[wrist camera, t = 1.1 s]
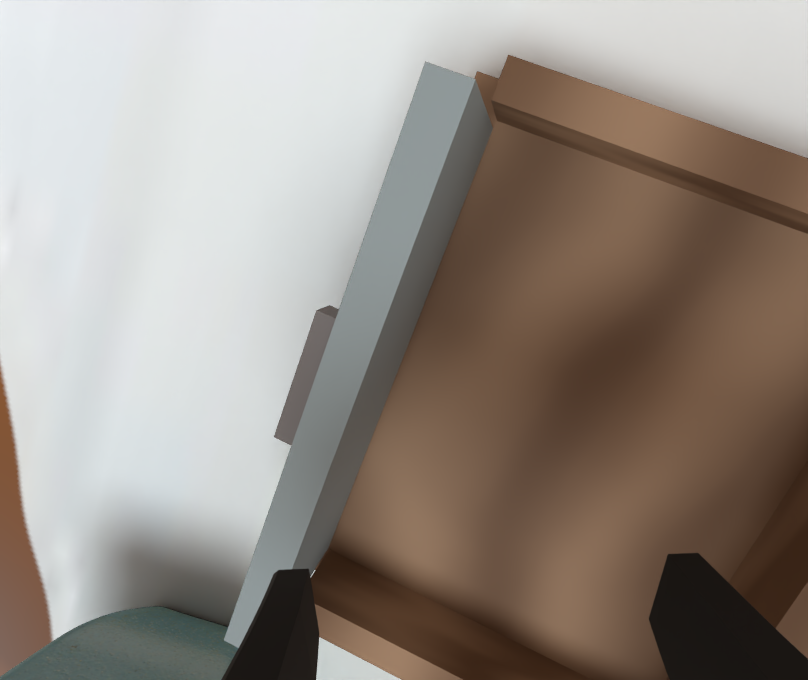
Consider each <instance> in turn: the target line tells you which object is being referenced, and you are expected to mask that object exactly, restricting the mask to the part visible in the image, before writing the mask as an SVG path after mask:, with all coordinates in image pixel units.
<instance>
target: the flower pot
mask: <svg viewBox="0 0 808 680" xmlns="http://www.w3.org/2000/svg"><path fill="white" fill-rule="evenodd" d="M227 629H228V627H226V626H223V625H219V624H216V623H213V622H209V621H206V620H203V619H199V618H196V617H193V616H189V615H186V614H183V613H180V612H177V611H174V610H171V609H168V608H164V607H160V606H153V607H143V608H136V609H129V610H124V611H119V612H115V613H111V614H108V615H105V616H102V617H99V618H96V619H94V620H91V621H89V622H86V623H84V624H82V625H80V626H78V627H76V628H74V629H72V630H70V631H68V632H67V633H65V634H63V635H62V636H60V637H59V638H57V639H56V640H54V641H52V642H51V643H49V644H48V645H46V646H45V647H43V648H42V649H40V650H39V651H37V652H36V653H34V654H33V655H31V656H30V657H29V658H27V659H26V660H24V661H23V662H21V663H20V664H19V665H17V666H15V667H14V668H12V669H11V670H9V671H8V672H7V673H5V674H4V675H2V676H1V677H0V680H221V679H222V677H223V676H224V674H225V672H226V670H227V668H228V666H229V665H230V663H231V661H232V659H233V657H234V655H235V654H236V652H237V650H238V648H237V647H236V646H234V645H232V644H230V643H228V642H226V641H224V638H225V635H226V632H227Z"/></svg>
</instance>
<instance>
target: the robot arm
mask: <svg viewBox="0 0 808 680" xmlns="http://www.w3.org/2000/svg"><path fill="white" fill-rule="evenodd" d="M649 622H650V625H651V628H652V631H653V634H654V637H655V640H656V643H657V646H658V649H659V652H660V655H661V658H662V661H663V664H664V666H665V669H666V672H667V675H668V677H669V679H670V680H808V659H807V658H806V657H805V656H804V655H803V654H802V653H801V652H800V651H799V650H798V649H797V648H796V647H795V646H794V645H792V644H791V643H790V642H789V641H788V640H787V639H786V638H785V637H784V636H783V635H782V634H781V633H780V632H779V631H778V630H777V629H776V628H774V627H773V626H772V625H771V624H770V623H769V622H768V621H767V620H766V619H765V618H764V617H763V616H762V615H761V614H760V613H759V612H758V611H757V610H756V609H755V608H754V607H753V606H752V605H751V604H750V603H749V602H748V601H747V600H746V599H745V598H744V597H743V596H742V595H741V594H740V593H739V592H738V591H737V590H736V589H735V588H734V587H733V586H732V585H730V584H729V583H728V582H727V581H726V580H725V579H724V578H723V577H722V576H721V575H720V574H719V573H718V572H717V571H716V570H715V569H714V568H713V567H712V566H711V565H710V564H709V563H708V562H707V561H706V560H705V559H704V558H703V557H702V556H701V555H700V554H699V553H679V554H668V555H667V559H666V562H665V565H664V569H663V572H662V575H661V579H660V582H659V585H658V589H657V592H656V595H655V599H654V602H653V606H652V609H651V612H650V616H649ZM318 645H319V627H318V621H317V615H316V609H315V603H314V597H313V590H312V584H311V578H310V572H309V569H285V570H278V571H276V572H275V573H274V574H273V577H272V579H271V581H270V584H269V586H268V589H267V591H266V593H265V595H264V597H263V600H262V602H261V604H260V606H259V608H258V610H257V613H256V615H255V617H254V619H253V621H252V623H251V625H250V627H249V629H248V631H247V633H246V635H245V637H244V639H243V641H242V643H241V644H240V646H239V648H238V650H237V652H236V654H235V655H234V657H233V659H232V661H231V663H230V665H229V666H228V668H227V670H226V672H225V674H224V676H223V677H222V679H221V680H316V673H317V660H318Z"/></svg>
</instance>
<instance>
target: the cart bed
mask: <svg viewBox="0 0 808 680" xmlns="http://www.w3.org/2000/svg"><path fill="white" fill-rule="evenodd" d="M475 79H476V82H477V85H478V88H479V91H480V93H481V96H482V99H483V102H484V105H485V107H486V110H487V113H488V116H489V119H490V121H491V124H492V127H493V130H492V132H491V135H490V137H489V140H488V142H487V145H486V148H485V150H484V153H483V155H482V158H481V160H480V163H479V165H478V168H477V170H476V173H475V176H474V178H473V181H472V183H471V186H470V188H469V191H468V193H467V196H466V199H465V201H464V204H463V206H462V209H461V211H460V214H459V216H458V219H457V221H456V224H455V227H454V229H453V232H452V234H451V237H450V239H449V242H448V244H447V247H446V249H445V252H444V255H443V257H442V260H441V262H440V265H439V267H438V270H437V272H436V275H435V278H434V280H433V283H432V285H431V288H430V290H429V293H428V295H427V298H426V300H425V303H424V306H423V308H422V311H421V313H420V316H419V318H418V321H417V323H416V326H415V329H414V331H413V334H412V336H411V339H410V341H409V344H408V346H407V349H406V351H405V354H404V357H403V359H402V362H401V364H400V367H399V369H398V372H397V374H396V377H395V380H394V382H393V385H392V387H391V390H390V392H389V395H388V397H387V400H386V402H385V405H384V408H383V410H382V413H381V415H380V418H379V420H378V423H377V425H376V428H375V431H374V433H373V436H372V438H371V441H370V443H369V446H368V448H367V451H366V453H365V456H364V459H363V461H362V464H361V466H360V469H359V471H358V474H357V476H356V479H355V482H354V484H353V487H352V489H351V492H350V494H349V497H348V499H347V502H346V504H345V507H344V510H343V512H342V515H341V517H340V520H339V522H338V525H337V527H336V530H335V533H334V535H333V538H332V540H331V543H330V545H329V548H328V549H327V551H326V552H325V554H324V556H323V557H322V559H321V560H320V562H319V563H318V565H317V567H316V568H315V570H316V571H315V572H314V574H313V575H312V577H311V584H312V590H313V597H314V603H315V609H316V615H317V621H318V627H319V637H321V638H323V639H325V640H327V641H328V642H330V643H332V644H334V645H336V646H338V647H340V648H342V649H344V650H346V651H348V652H350V653H352V654H353V655H355V656H357V657H359V658H361V659H363V660H365V661H367V662H369V663H371V664H373V665H375V666H377V667H378V668H380V669H382V670H384V671H386V672H388V673H390V674H392V675H394V676H396V677H398V678H400V679H402V680H670V679H669V677H668V675H667V672H666V669H665V666H664V664H663V661H662V658H661V655H660V652H659V649H658V646H657V643H656V640H655V637H654V634H653V631H652V628H651V625H650V622H649V616H650V612H651V609H652V606H653V602H654V599H655V595H656V592H657V589H658V585H659V582H660V579H661V575H662V572H663V569H664V565H665V562H666V559H667V555H668V554H679V553H699V554H700V555H701V556H702V557H703V558H704V559H705V560H706V561H707V562H708V563H709V564H710V565H711V566H712V567H713V568H714V569H715V570H716V571H717V572H718V573H719V574H720V575H721V576H722V577H723V578H724V579H725V580H726V581H727V582H728V583H729V584H730V585H732V586H733V587H734V588H735V589H736V590H737V591H738V592H739V593H740V594H741V595H742V596H743V597H744V598H745V599H746V600H747V601H748V602H749V603H750V604H751V605H752V606H753V607H754V608H755V609H756V610H757V611H758V612H759V613H760V614H761V615H762V616H763V617H764V618H765V619H766V620H767V621H768V622H769V623H770V624H771V625H772V626H773V627H774V628H776V629H777V630H778V631H779V632H780V633H781V634H782V635H783V636H784V637H785V638H786V639H787V640H788V641H789V642H790V643H791V644H792V645H794V646H795V647H796V648H797V649H798V650H799V651H800V652H801V653H802V654H803V655H804V656H805V657H806V658H807V659H808V158H805V157H802V156H799V155H796V154H793V153H791V152H788V151H785V150H782V149H779V148H776V147H773V146H770V145H767V144H765V143H762V142H759V141H756V140H753V139H750V138H747V137H744V136H741V135H739V134H736V133H733V132H730V131H727V130H724V129H721V128H718V127H715V126H713V125H710V124H707V123H704V122H701V121H698V120H695V119H692V118H689V117H687V116H684V115H681V114H678V113H675V112H672V111H669V110H666V109H663V108H661V107H658V106H655V105H652V104H649V103H646V102H643V101H640V100H637V99H635V98H632V97H629V96H626V95H623V94H620V93H617V92H614V91H611V90H609V89H606V88H603V87H600V86H597V85H594V84H591V83H588V82H585V81H583V80H580V79H577V78H574V77H571V76H568V75H565V74H562V73H559V72H557V71H554V70H551V69H548V68H545V67H542V66H539V65H536V64H533V63H531V62H528V61H525V60H522V59H519V58H516V57H513V56H510V55H508V57H507V60H506V62H505V65H504V68H503V70H502V73H501V75H500V78H499V79H498V78H495V77H492V76H489V75H486V74H483V73H481V72H478V71H477V73H476V76H475Z"/></svg>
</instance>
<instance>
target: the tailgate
mask: <svg viewBox="0 0 808 680" xmlns="http://www.w3.org/2000/svg"><path fill="white" fill-rule="evenodd" d="M492 130H493V127H492V124H491V121H490V119H489V116H488V113H487V110H486V107H485V105H484V102H483V99H482V96H481V93H480V91H479V88H478V85H477V82H476V79H473V78H470V77H467V76H465V75H462V74H459V73H456V72H453V71H451V70H448V69H445V68H442V67H439V66H436V65H434V64H431V63H428V62H425V64H424V67H423V70H422V73H421V76H420V78H419V81H418V84H417V87H416V90H415V93H414V96H413V99H412V101H411V104H410V107H409V110H408V113H407V116H406V119H405V121H404V124H403V127H402V130H401V133H400V136H399V139H398V142H397V144H396V147H395V150H394V153H393V156H392V159H391V162H390V164H389V167H388V170H387V173H386V176H385V179H384V182H383V185H382V187H381V190H380V193H379V196H378V199H377V202H376V205H375V208H374V210H373V213H372V216H371V219H370V222H369V225H368V228H367V230H366V233H365V236H364V239H363V242H362V245H361V248H360V251H359V253H358V256H357V259H356V262H355V265H354V268H353V271H352V274H351V276H350V279H349V282H348V285H347V288H346V291H345V294H344V296H343V299H342V302H341V305H340V308H339V309H337V308H334V307H332V306H330V305H329V306H327V307H324V308H321V309H319V310H317V311H316V314H315V316H314V319H313V322H312V325H311V328H310V331H309V334H308V337H307V340H306V343H305V346H304V349H303V352H302V355H301V358H300V361H299V364H298V367H297V370H296V373H295V376H294V379H293V382H292V385H291V388H290V391H289V394H288V397H287V400H286V403H285V406H284V409H283V411H282V414H281V417H280V420H279V423H278V426H277V429H276V432H275V435H274V437H275V438H277V439H279V440H281V441H283V442H285V443H287V444H290V445H292V446H291V449H290V451H289V454H288V457H287V460H286V463H285V466H284V469H283V472H282V474H281V477H280V480H279V483H278V486H277V489H276V492H275V494H274V497H273V500H272V503H271V506H270V509H269V512H268V515H267V517H266V520H265V523H264V526H263V529H262V532H261V535H260V538H259V540H258V543H257V546H256V549H255V552H254V555H253V558H252V560H251V563H250V566H249V569H248V572H247V575H246V578H245V581H244V583H243V586H242V589H241V592H240V595H239V598H238V601H237V603H236V606H235V609H234V612H233V615H232V618H231V621H230V624H229V626H228V629H227V632H226V635H225V638H224V641H226V642H228V643H230V644H232V645H234V646H236V647H237V648H239V646H240V644H241V643H242V641H243V639H244V637H245V635H246V633H247V631H248V629H249V627H250V625H251V623H252V621H253V619H254V617H255V615H256V613H257V610H258V608H259V606H260V604H261V602H262V600H263V597H264V595H265V593H266V591H267V589H268V586H269V584H270V581H271V579H272V577H273V574H274V573H275V572H276V571H278V570H285V569H309V572H310V576H311V575H312V573H313V571H314V570H315V568H316V567H317V565H318V563H319V562H320V560H321V559H322V557H323V556H324V554H325V552H326V551H327V549H328V548H329V545H330V543H331V540H332V538H333V535H334V533H335V530H336V527H337V525H338V522H339V520H340V517H341V515H342V512H343V510H344V507H345V504H346V502H347V499H348V497H349V494H350V492H351V489H352V487H353V484H354V482H355V479H356V476H357V474H358V471H359V469H360V466H361V464H362V461H363V459H364V456H365V453H366V451H367V448H368V446H369V443H370V441H371V438H372V436H373V433H374V431H375V428H376V425H377V423H378V420H379V418H380V415H381V413H382V410H383V408H384V405H385V402H386V400H387V397H388V395H389V392H390V390H391V387H392V385H393V382H394V380H395V377H396V374H397V372H398V369H399V367H400V364H401V362H402V359H403V357H404V354H405V351H406V349H407V346H408V344H409V341H410V339H411V336H412V334H413V331H414V329H415V326H416V323H417V321H418V318H419V316H420V313H421V311H422V308H423V306H424V303H425V300H426V298H427V295H428V293H429V290H430V288H431V285H432V283H433V280H434V278H435V275H436V272H437V270H438V267H439V265H440V262H441V260H442V257H443V255H444V252H445V249H446V247H447V244H448V242H449V239H450V237H451V234H452V232H453V229H454V227H455V224H456V221H457V219H458V216H459V214H460V211H461V209H462V206H463V204H464V201H465V199H466V196H467V193H468V191H469V188H470V186H471V183H472V181H473V178H474V176H475V173H476V170H477V168H478V165H479V163H480V160H481V158H482V155H483V153H484V150H485V148H486V145H487V142H488V140H489V137H490V135H491V132H492Z"/></svg>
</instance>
